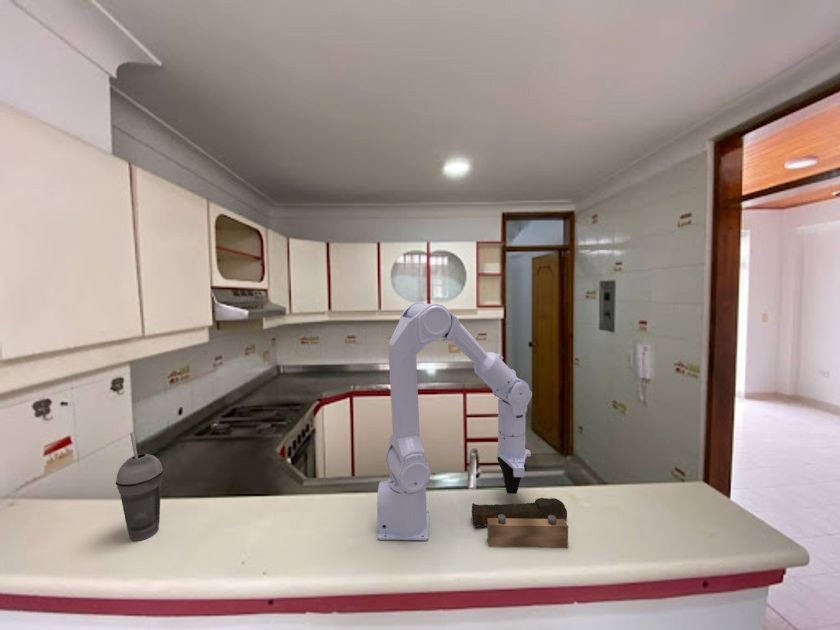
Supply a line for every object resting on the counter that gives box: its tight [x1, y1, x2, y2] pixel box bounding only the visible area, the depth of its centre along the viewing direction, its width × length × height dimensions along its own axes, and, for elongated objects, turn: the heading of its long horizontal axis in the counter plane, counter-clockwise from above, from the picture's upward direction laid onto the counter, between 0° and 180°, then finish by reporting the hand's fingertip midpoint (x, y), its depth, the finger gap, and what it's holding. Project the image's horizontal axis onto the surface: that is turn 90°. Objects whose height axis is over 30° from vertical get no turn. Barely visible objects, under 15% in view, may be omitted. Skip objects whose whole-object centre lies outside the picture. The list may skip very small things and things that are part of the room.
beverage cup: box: [115, 432, 164, 542], centre depth 69 cm, size 7×7×20 cm
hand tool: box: [471, 497, 568, 528], centre depth 71 cm, size 19×4×5 cm, turn 90°
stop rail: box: [486, 514, 569, 549], centre depth 65 cm, size 14×2×5 cm, turn 88°
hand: (511, 492), depth 78 cm, fingers closed
